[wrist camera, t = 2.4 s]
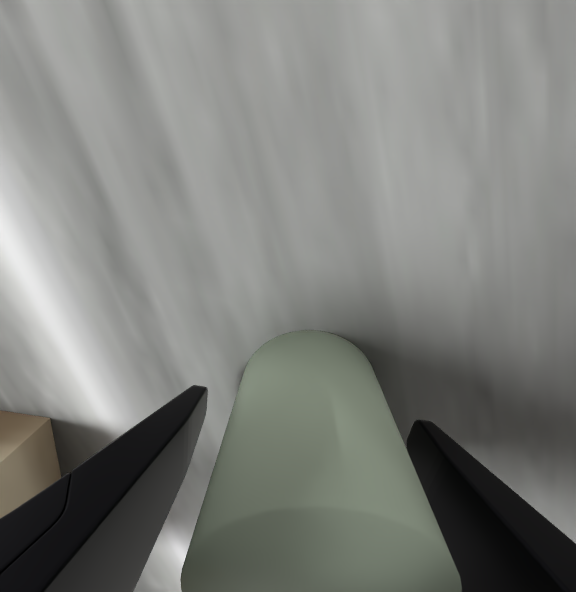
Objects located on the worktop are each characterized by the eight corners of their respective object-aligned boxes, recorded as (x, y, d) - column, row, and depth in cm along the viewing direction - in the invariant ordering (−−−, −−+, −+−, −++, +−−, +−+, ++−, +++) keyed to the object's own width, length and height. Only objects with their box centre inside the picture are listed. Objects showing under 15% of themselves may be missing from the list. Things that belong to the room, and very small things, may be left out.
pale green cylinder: (392, 342, 8) (512, 532, 4) (357, 447, 10) (410, 678, 5) (249, 319, 8) (183, 484, 4) (236, 429, 10) (178, 646, 5)
